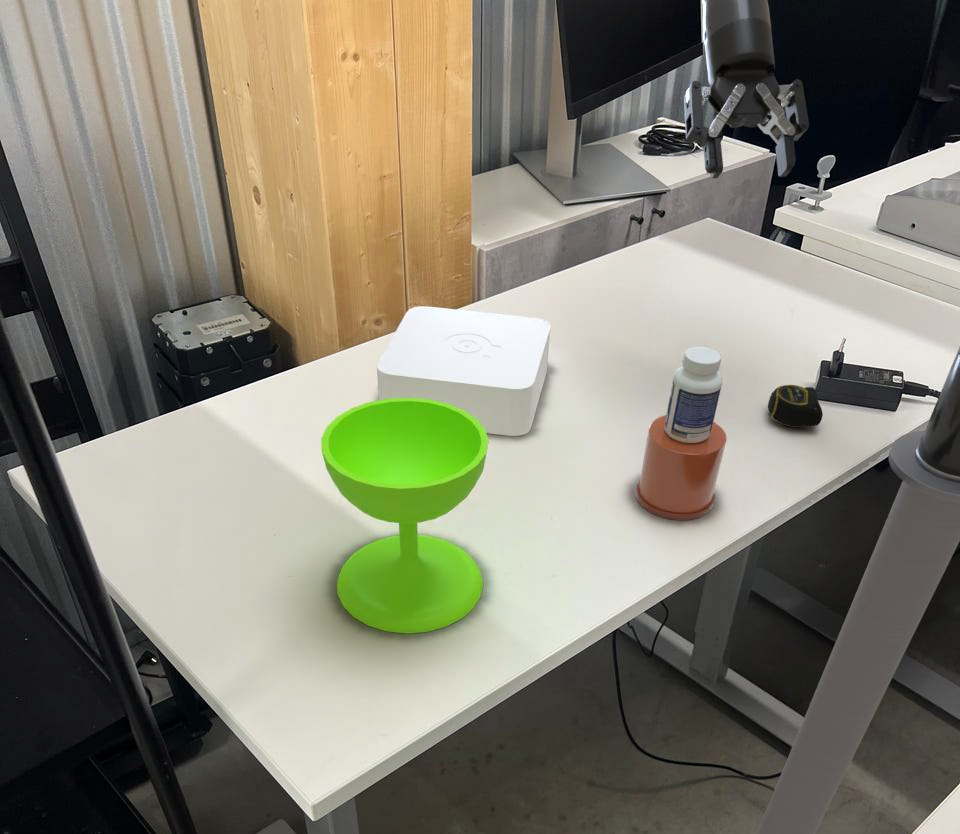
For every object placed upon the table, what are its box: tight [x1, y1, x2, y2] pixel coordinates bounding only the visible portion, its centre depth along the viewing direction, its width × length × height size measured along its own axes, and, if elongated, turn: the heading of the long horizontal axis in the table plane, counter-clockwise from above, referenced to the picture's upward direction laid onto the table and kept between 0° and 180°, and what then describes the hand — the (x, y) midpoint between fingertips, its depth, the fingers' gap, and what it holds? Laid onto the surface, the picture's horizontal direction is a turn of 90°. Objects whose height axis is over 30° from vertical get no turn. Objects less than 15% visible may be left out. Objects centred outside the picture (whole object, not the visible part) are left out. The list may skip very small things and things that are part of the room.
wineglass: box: [320, 398, 489, 634], centre depth 94 cm, size 16×16×18 cm
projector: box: [376, 305, 551, 437], centre depth 129 cm, size 21×22×7 cm
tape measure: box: [767, 384, 824, 428], centre depth 126 cm, size 7×7×4 cm
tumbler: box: [635, 414, 728, 521], centre depth 110 cm, size 10×10×9 cm
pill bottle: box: [665, 346, 723, 443], centre depth 104 cm, size 5×5×10 cm
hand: (751, 174), depth 108 cm, fingers open, 8 cm apart
